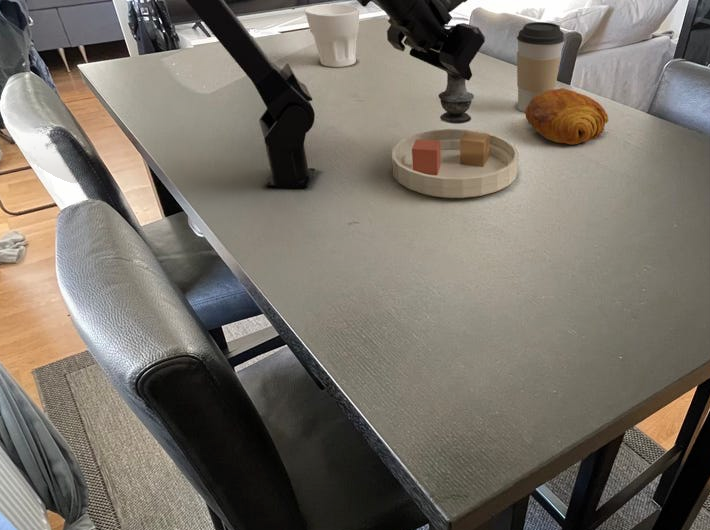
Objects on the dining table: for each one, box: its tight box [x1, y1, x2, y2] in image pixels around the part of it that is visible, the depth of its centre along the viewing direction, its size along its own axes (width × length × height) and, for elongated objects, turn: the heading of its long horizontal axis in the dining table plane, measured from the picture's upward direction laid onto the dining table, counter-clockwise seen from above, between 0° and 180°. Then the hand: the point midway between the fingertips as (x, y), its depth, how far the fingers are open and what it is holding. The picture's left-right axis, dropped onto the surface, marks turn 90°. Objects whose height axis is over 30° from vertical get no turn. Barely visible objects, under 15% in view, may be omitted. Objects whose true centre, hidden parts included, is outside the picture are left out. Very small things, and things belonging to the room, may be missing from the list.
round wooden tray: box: [391, 128, 520, 199], centre depth 95 cm, size 20×20×4 cm
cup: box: [304, 3, 360, 68], centre depth 138 cm, size 12×12×11 cm
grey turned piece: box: [438, 71, 475, 125], centre depth 95 cm, size 6×6×12 cm
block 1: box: [412, 140, 441, 175], centre depth 94 cm, size 4×4×4 cm
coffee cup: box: [516, 21, 565, 113], centre depth 115 cm, size 9×9×15 cm
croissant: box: [524, 88, 609, 145], centre depth 108 cm, size 14×16×8 cm
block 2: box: [460, 131, 491, 167], centre depth 97 cm, size 4×4×4 cm
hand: (462, 75), depth 95 cm, fingers closed on grey turned piece, 3 cm apart
